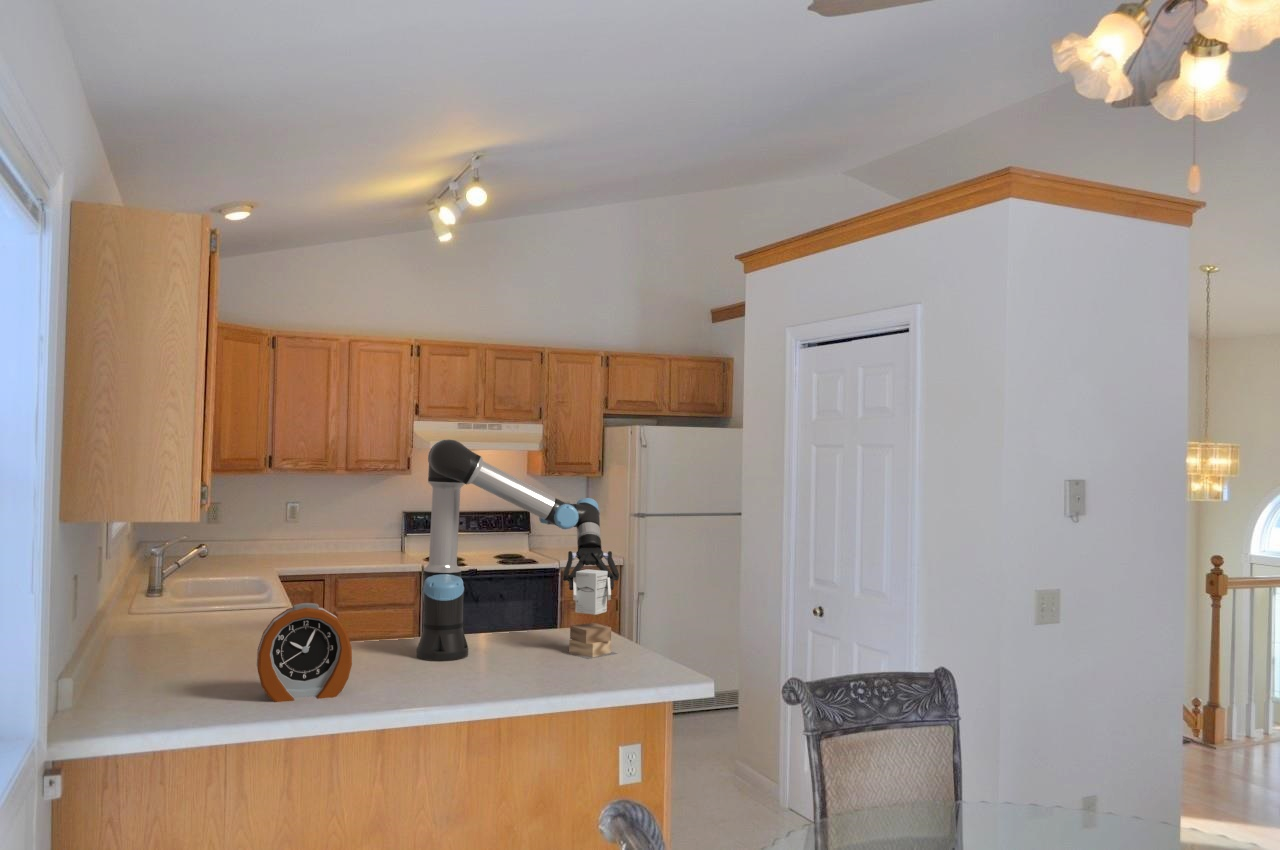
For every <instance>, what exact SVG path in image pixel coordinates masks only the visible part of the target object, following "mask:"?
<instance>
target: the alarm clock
mask: <svg viewBox="0 0 1280 850" xmlns="http://www.w3.org/2000/svg"><path fill="white" fill-rule="evenodd" d="M352 649H353V648H352V645H351V642H350V637H349V633H348V631H347V630H346V629H345V627H344V626H343V624H342V622H341V621H340V620H339V619H338V617H337V615H335V614H334V613H332V612H330V611H329V610H327V609H325V608H324V607H322V606H320V605H319V604H318V603H314V602H313V603H312V602H302V603H297V604H293V606H292V607H289V608H286V609H285V610H284V611H282V612H281V613H279V614H278V615H277V616H275V617H273V619H271V620H270V623H268V625H267V627H266V628H265V629H264V631H263V633H262V635H261V638H260V642H259V645H258V647H257V654H256V655H257V656H256V668H257V674H258V677H259V681H260V684H261V687H262V689H263V690H264V692H265V694H266V695H267V697H268V698H269V699H270V700H272V701H273V702H274V703H283V702H294V701H295V699H300V698H310V697H311V698H312V697H313V698H314V697H316V699H317V700H319V699H330V698H336V697H337V696H338V695H339V694H341V692H342V690H343V689H344V687H345V685H346V683H347V682H348V680H349V677H350V672H351V670H352V667H353V666H352V665H353V660H352V659H353V652H352Z"/></svg>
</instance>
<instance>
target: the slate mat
mask: <svg viewBox="0 0 1280 850" xmlns="http://www.w3.org/2000/svg"><path fill="white" fill-rule="evenodd" d="M562 653H563V654H566V655H571V656H575V657H579V658H582V659H587V660H590V659H591V660H593V659H597V658H603V657H607V656H613V655H618V654H619V653H618V652H614V651H611V653H608V654H604V655H600V656H596V657H587V656H581V655H576V654H570V653H569V651H563V652H562Z"/></svg>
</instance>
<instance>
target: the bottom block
mask: <svg viewBox="0 0 1280 850" xmlns="http://www.w3.org/2000/svg"><path fill="white" fill-rule="evenodd" d="M568 649H569V651H568V652H569V653H570V654H576V655H581V656H587V657H596V656H600V655H604V654H608V653H611V652H612V640H611V641H605V642H597V643H589V644H585V643H582V642H578V641H575V640H572V639H570V640H569V647H568ZM570 654H569V655H570Z"/></svg>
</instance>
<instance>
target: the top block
mask: <svg viewBox="0 0 1280 850" xmlns="http://www.w3.org/2000/svg"><path fill="white" fill-rule="evenodd" d="M569 631H570V632H569V639H570V640H575V641H578V642H582V643H585V644H589V643H597V642H605V641H611V642H612V627H611V626H608V625H604V624H599V623H596V622H592V623H591V622H590V623H583V624H574V625H570V627H569Z"/></svg>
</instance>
